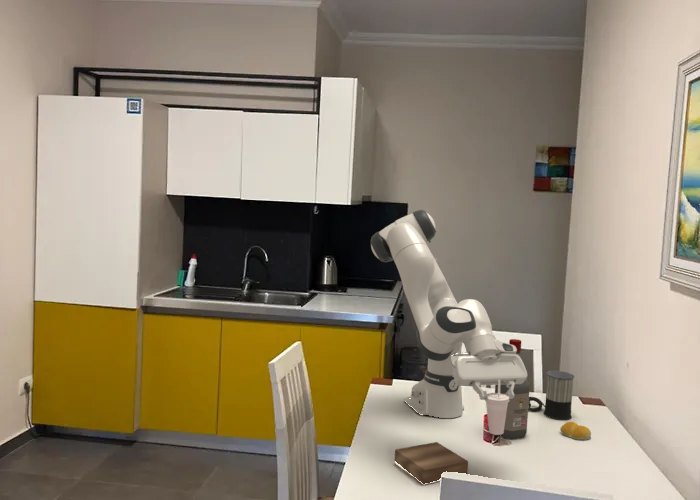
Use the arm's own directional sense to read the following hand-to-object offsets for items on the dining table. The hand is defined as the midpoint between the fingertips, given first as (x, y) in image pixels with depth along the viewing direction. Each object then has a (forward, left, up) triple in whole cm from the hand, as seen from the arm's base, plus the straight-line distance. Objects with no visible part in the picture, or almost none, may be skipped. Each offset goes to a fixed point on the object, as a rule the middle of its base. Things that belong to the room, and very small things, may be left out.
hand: (497, 398), depth 164 cm
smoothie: (0, +1, -10) cm, 10 cm away
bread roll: (-13, +46, -22) cm, 52 cm away
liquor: (-22, +26, -22) cm, 40 cm away
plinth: (-10, -13, -21) cm, 27 cm away
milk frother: (-33, +52, -22) cm, 65 cm away
